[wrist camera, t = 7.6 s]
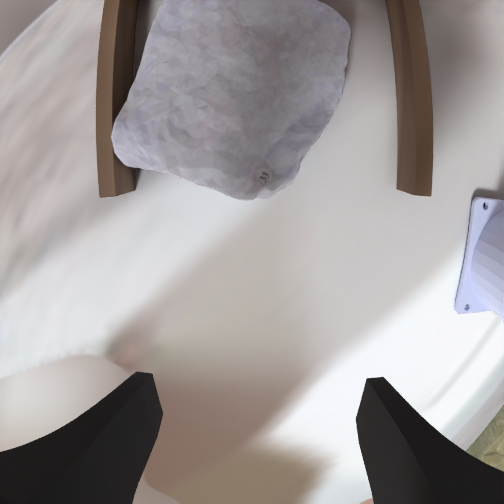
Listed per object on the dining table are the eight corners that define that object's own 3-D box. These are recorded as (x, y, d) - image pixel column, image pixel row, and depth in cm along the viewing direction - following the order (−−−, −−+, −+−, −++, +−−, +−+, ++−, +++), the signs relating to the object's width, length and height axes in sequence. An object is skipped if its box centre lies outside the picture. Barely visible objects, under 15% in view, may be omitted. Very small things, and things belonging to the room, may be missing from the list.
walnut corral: (396, -15, 12) (410, -32, 10) (411, 190, 16) (431, 196, 14) (125, -8, 13) (108, -23, 11) (120, 191, 17) (99, 197, 15)
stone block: (342, 35, 15) (188, -17, 13) (378, 16, 11) (181, -53, 9) (278, 204, 19) (122, 158, 17) (297, 231, 15) (93, 171, 13)
